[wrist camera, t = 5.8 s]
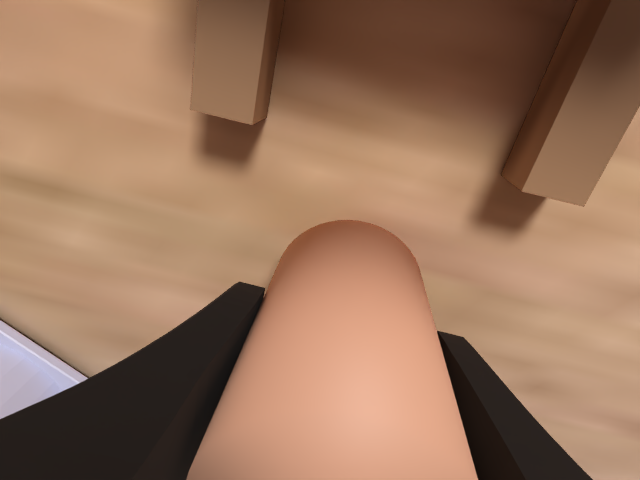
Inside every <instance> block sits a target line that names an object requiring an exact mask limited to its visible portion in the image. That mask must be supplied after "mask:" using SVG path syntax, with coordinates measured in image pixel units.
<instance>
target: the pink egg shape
mask: <svg viewBox="0 0 640 480" xmlns="http://www.w3.org/2000/svg"><path fill="white" fill-rule="evenodd" d="M186 480H478V478H477V474H476V471H475V467H474V463H473V460H472V456H471V453H470V449H469V445H468V442H467V438H466V435H465V431H464V427H463V424H462V420H461V417H460V413H459V409H458V406H457V402H456V399H455V395H454V392H453V388H452V384H451V381H450V377H449V374H448V370H447V366H446V363H445V359H444V356H443V352H442V348H441V345H440V341H439V338H438V334H437V330H436V327H435V323H434V320H433V316H432V313H431V309H430V305H429V302H428V298H427V295H426V291H425V287H424V284H423V280H422V277H421V273H420V269H419V266H418V264H417V262H416V259H415V257H414V256H413V254H412V253H411V251H410V250H409V249H408V247H407V246H406V245H405V244H404V243H403V242H402V241H401V240H400V239H399V238H397V237H396V236H395V235H393V234H392V233H390V232H389V231H387V230H385V229H383V228H381V227H379V226H376V225H373V224H370V223H366V222H361V221H353V220H338V221H332V222H327V223H323V224H320V225H317V226H315V227H313V228H310V229H309V230H307V231H305V232H304V233H302V234H301V235H299V236H298V237H297V238H296V239H295V240H294V241H293V242H292V243H291V244H290V245H289V246H288V247H287V249H286V250H285V252H284V253H283V255H282V257H281V259H280V261H279V264H278V266H277V268H276V270H275V273H274V275H273V277H272V280H271V282H270V284H269V287H268V289H267V291H266V294H265V296H264V298H263V301H262V303H261V305H260V308H259V310H258V312H257V314H256V317H255V319H254V321H253V324H252V326H251V328H250V331H249V333H248V335H247V338H246V340H245V342H244V345H243V347H242V349H241V352H240V354H239V356H238V359H237V361H236V363H235V365H234V368H233V370H232V372H231V375H230V377H229V379H228V382H227V384H226V386H225V389H224V391H223V393H222V396H221V398H220V400H219V403H218V405H217V407H216V410H215V412H214V414H213V416H212V419H211V421H210V423H209V426H208V428H207V430H206V433H205V435H204V437H203V440H202V442H201V444H200V447H199V449H198V451H197V454H196V456H195V458H194V461H193V463H192V465H191V467H190V470H189V472H188V476H187V479H186Z"/></svg>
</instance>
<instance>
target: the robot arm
mask: <svg viewBox="0 0 640 480" xmlns="http://www.w3.org/2000/svg"><path fill="white" fill-rule="evenodd" d="M264 291H265V288H263V287H259V286H255V285H251V284H247V283H242V282H238V283H236V284H234V285H233V286H232V287H231V288H229V289H228V290H227V291H225V292H224V293H223V294H222V295H220V296H219V297H218V298H216V299H215V300H214V301H212V302H211V303H210V304H208V305H207V306H206V307H204V308H203V309H202V310H200V311H199V312H197V313H196V314H195V315H193V316H192V317H190V318H189V319H187V320H186V321H184V322H183V323H182V324H180V325H179V326H177V327H176V328H174V329H173V330H171V331H170V332H168V333H167V334H165V335H163V336H162V337H160V338H159V339H157V340H155V341H154V342H152V343H150V344H149V345H147V346H146V347H144V348H142V349H141V350H139V351H138V352H136V353H134V354H132V355H131V356H129V357H127V358H125V359H124V360H122V361H120V362H118V363H117V364H115V365H113V366H111V367H109V368H107V369H106V370H104V371H102V372H100V373H98V374H96V375H94V376H92V377H90V378H87V377H85V376H84V375H82V374H81V373H79V372H78V371H76V370H75V369H73V368H72V367H70V366H69V365H67V364H66V363H64V362H63V361H61V360H60V359H58V358H57V357H55V356H54V355H52V354H51V353H49V352H48V351H46V350H45V349H43V348H42V347H40V346H39V345H37V344H36V343H34V342H33V341H31V340H30V339H28V338H27V337H25V336H24V335H22V334H21V333H19V332H18V331H16V330H15V329H13V328H12V327H10V326H9V325H7V324H6V323H4V322H3V321H1V320H0V480H186V479H187V476H188V472H189V470H190V467H191V465H192V463H193V461H194V458H195V456H196V454H197V451H198V449H199V447H200V444H201V442H202V440H203V437H204V435H205V433H206V430H207V428H208V426H209V423H210V421H211V419H212V416H213V414H214V412H215V410H216V407H217V405H218V403H219V400H220V398H221V396H222V393H223V391H224V389H225V386H226V384H227V382H228V379H229V377H230V375H231V372H232V370H233V368H234V365H235V363H236V361H237V359H238V356H239V354H240V352H241V349H242V347H243V345H244V342H245V340H246V338H247V335H248V333H249V331H250V328H251V326H252V324H253V321H254V319H255V317H256V314H257V312H258V310H259V308H260V305H261V303H262V301H263V297H264ZM437 334H438V338H439V341H440V345H441V348H442V352H443V356H444V359H445V363H446V366H447V370H448V374H449V377H450V381H451V384H452V388H453V392H454V395H455V399H456V402H457V406H458V409H459V413H460V417H461V420H462V424H463V427H464V431H465V435H466V438H467V442H468V445H469V449H470V453H471V456H472V460H473V463H474V467H475V471H476V474H477V478H478V480H593V479H592V478H591V477H590V476H589V475H588V474H587V473H586V472H585V471H584V470H583V469H582V468H581V467H580V466H579V465H578V464H577V463H576V462H575V461H574V460H573V459H572V458H571V457H570V456H569V455H568V454H567V453H566V452H565V451H564V450H563V449H562V447H561V446H560V445H559V444H558V443H557V442H556V441H555V440H554V439H553V438H552V437H551V436H550V435H549V434H548V433H547V432H546V430H545V429H544V428H543V427H542V426H541V425H540V424H539V423H538V422H537V421H536V419H535V418H534V417H533V416H532V415H531V414H530V413H529V412H528V410H527V409H526V408H525V407H524V406H523V405H522V404H521V402H520V401H519V400H518V399H517V398H516V397H515V396H514V394H513V393H512V392H511V391H510V390H509V389H508V387H507V386H506V385H505V384H504V383H503V382H502V380H501V379H500V378H499V377H498V376H497V375H496V373H495V372H494V371H493V370H492V369H491V368H490V366H489V365H488V364H487V363H486V362H485V361H484V359H483V358H482V357H481V356H480V355H479V354H478V352H477V351H476V350H475V349H474V348H473V347H472V346H471V345H470V344H469V343H468V342H467V340H466V339H465V338H464V337H461V336H456V335H452V334H448V333H444V332H440V331H437Z"/></svg>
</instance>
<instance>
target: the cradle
mask: <svg viewBox="0 0 640 480" xmlns="http://www.w3.org/2000/svg"><path fill="white" fill-rule="evenodd" d="M284 3H285V0H198V6H197V20H196V34H195V48H194V62H193V77H192V91H191V105H190V110H193V111H197V112H201V113H205V114H209V115H213V116H217V117H221V118H225V119H229V120H233V121H237V122H241V123H246V124H250V125H253V124H255V123H257V122H259V121H261V120H263V119H265V118H267V113H268V107H269V100H270V94H271V87H272V81H273V74H274V68H275V61H276V55H277V48H278V42H279V36H280V29H281V23H282V16H283V10H284ZM639 106H640V0H577V2H576V4H575V6H574V9H573V11H572V13H571V16H570V18H569V20H568V22H567V25H566V27H565V29H564V32H563V34H562V36H561V38H560V41H559V43H558V45H557V48H556V50H555V52H554V54H553V57H552V59H551V61H550V64H549V66H548V68H547V70H546V73H545V75H544V77H543V80H542V82H541V84H540V86H539V89H538V91H537V93H536V96H535V98H534V100H533V102H532V105H531V107H530V109H529V112H528V114H527V116H526V118H525V121H524V123H523V125H522V128H521V130H520V132H519V134H518V137H517V139H516V141H515V144H514V146H513V148H512V151H511V153H510V155H509V157H508V160H507V162H506V164H505V167H504V169H503V171H502V173H501V175H502V176H503V177H504V178H505V179H507V180H508V181H509V182H510V183H512V184H513V185H514V186H515V187H517V188H518V189H519V190H520V191H522V192H526V193H530V194H534V195H538V196H542V197H546V198H550V199H554V200H559V201H563V202H567V203H571V204H575V205H579V206H583V207H584V206H585V204H586V202H587V200H588V198H589V197H590V195H591V193H592V191H593V189H594V187H595V186H596V184H597V182H598V180H599V178H600V177H601V175H602V173H603V171H604V169H605V168H606V166H607V164H608V162H609V160H610V159H611V157H612V155H613V153H614V151H615V150H616V148H617V146H618V144H619V142H620V141H621V139H622V137H623V135H624V133H625V132H626V130H627V128H628V126H629V124H630V123H631V121H632V119H633V117H634V115H635V113H636V112H637V110H638V108H639Z"/></svg>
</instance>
